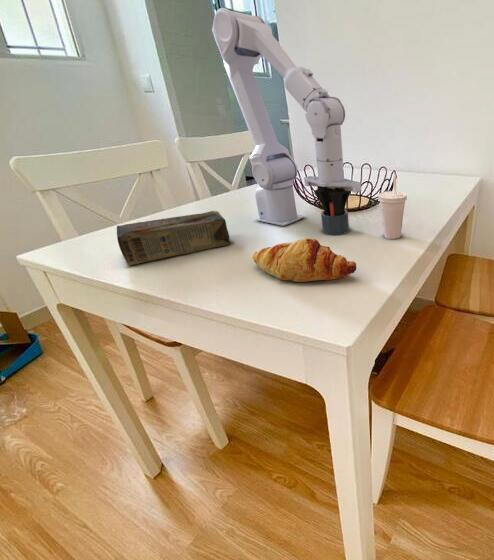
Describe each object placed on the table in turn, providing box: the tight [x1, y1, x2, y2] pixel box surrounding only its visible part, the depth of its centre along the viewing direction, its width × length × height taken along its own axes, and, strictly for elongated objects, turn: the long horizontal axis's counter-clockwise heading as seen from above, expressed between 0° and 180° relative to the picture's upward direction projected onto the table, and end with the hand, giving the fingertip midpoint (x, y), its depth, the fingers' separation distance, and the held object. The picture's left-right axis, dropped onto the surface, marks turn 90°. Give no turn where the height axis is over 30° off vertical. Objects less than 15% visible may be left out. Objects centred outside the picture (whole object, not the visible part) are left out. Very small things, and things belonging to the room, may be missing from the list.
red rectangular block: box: [329, 202, 335, 216], centre depth 81 cm, size 2×2×6 cm
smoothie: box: [377, 173, 408, 240], centre depth 76 cm, size 6×6×14 cm
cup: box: [320, 209, 350, 236], centre depth 82 cm, size 6×6×4 cm
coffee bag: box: [116, 210, 231, 266], centre depth 71 cm, size 8×19×7 cm, turn 127°
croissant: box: [252, 237, 357, 283], centre depth 62 cm, size 21×10×8 cm, turn 74°
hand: (335, 219), depth 82 cm, fingers closed on red rectangular block, 2 cm apart
